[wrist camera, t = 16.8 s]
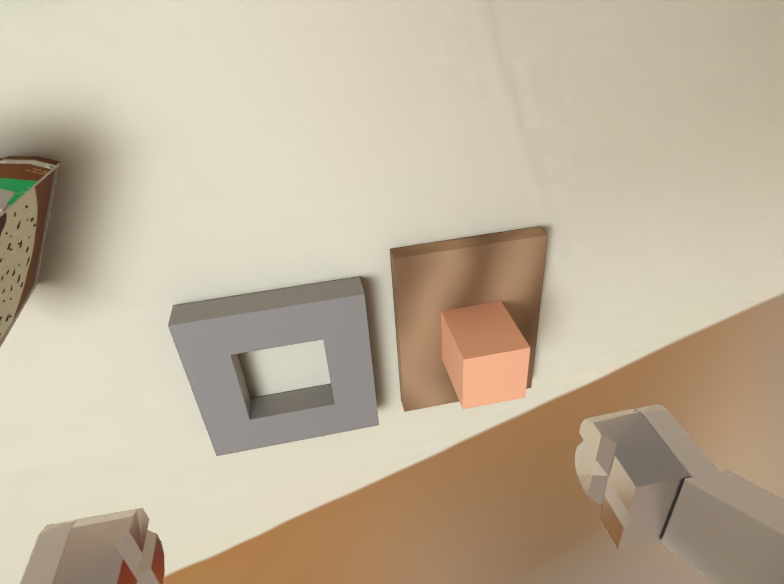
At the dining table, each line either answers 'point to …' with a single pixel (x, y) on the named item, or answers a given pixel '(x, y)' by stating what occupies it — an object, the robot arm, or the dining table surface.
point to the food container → (22, 230)
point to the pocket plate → (268, 330)
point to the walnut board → (460, 300)
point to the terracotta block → (484, 354)
